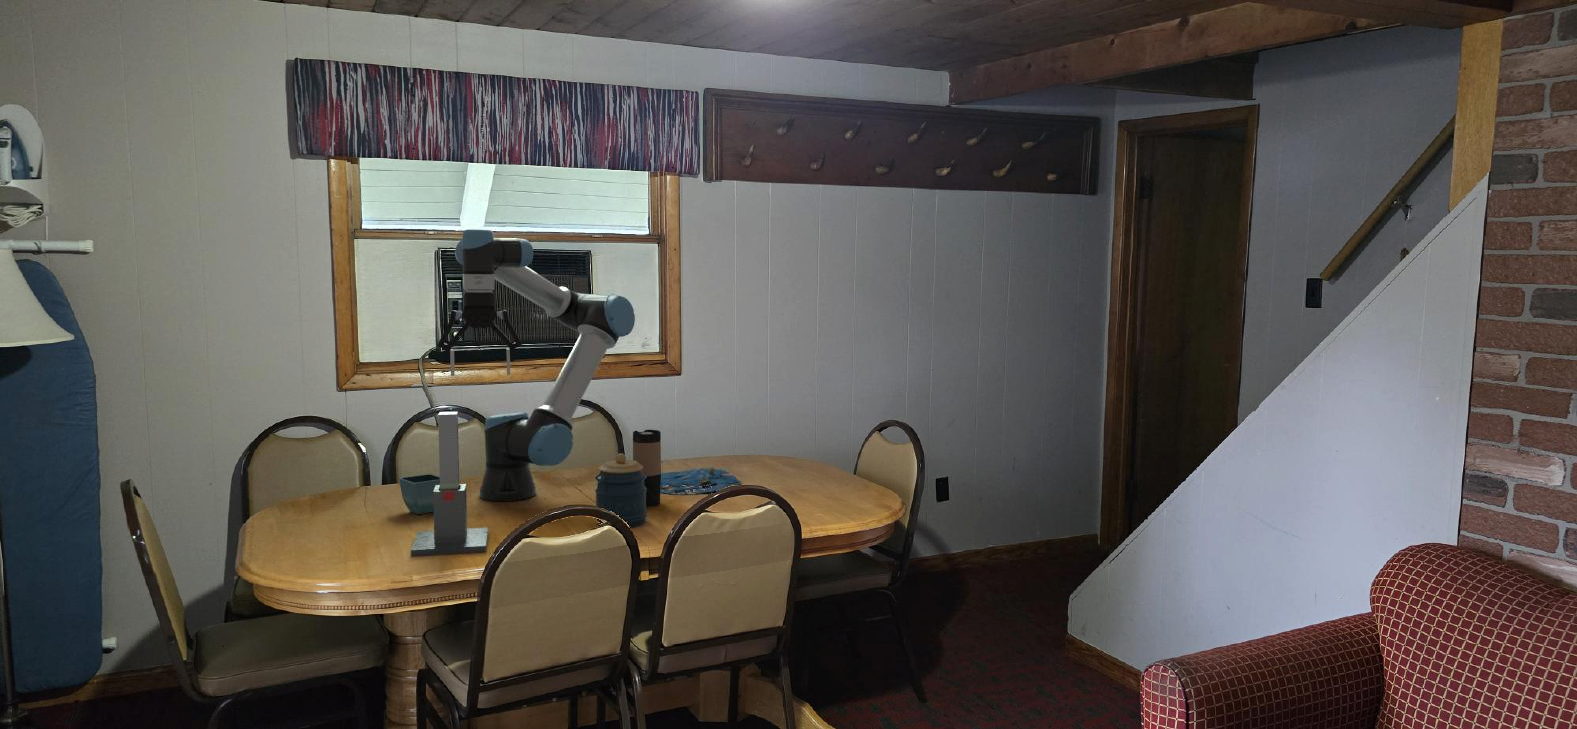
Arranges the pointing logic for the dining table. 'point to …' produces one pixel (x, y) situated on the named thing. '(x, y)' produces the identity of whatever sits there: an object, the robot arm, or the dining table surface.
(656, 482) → the travel mug
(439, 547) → the jack stand base
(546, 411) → the robot arm
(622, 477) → the canister
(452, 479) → the stand post
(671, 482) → the ocean terrain model
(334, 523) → the dining table surface
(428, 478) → the flower pot
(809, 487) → the dining table surface
